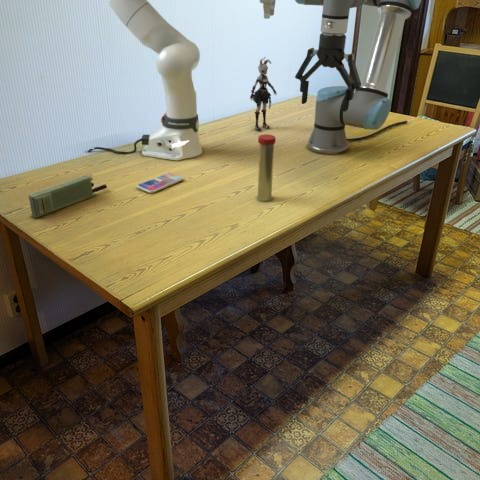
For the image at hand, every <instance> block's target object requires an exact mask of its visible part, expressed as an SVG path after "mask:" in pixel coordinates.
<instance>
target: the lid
mask: <svg viewBox="0 0 480 480" xmlns="http://www.w3.org/2000/svg"><path fill="white" fill-rule="evenodd" d="M257 139H258V140H257V142H258V144H259V145H260V144H262V145H272V144H274V145H275V144H276V136H275V135H274V134H267V133H266V134H260V135H259V136H258V138H257Z"/></svg>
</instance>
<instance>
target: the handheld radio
mask: <svg viewBox="0 0 480 480" xmlns="http://www.w3.org/2000/svg"><path fill="white" fill-rule="evenodd" d="M92 176H93V174H91V173H88V174H85V175H83V176H79V177H76V178H74V179H71V180H68V181H65V182H62V183H59V184H57V185H54V186H50V187H47V188H44V189H42V190H39V191H37V192H33V193H30V194H28V200H29V206H30V210H31V216H32V217H34V218H35V219H36V218H39V217H42V216H45V215H47V214H50V213H53V212H56V211H58V210H60V209H63V208H66V207H68V206H72V205H73V204H76V203H80V202H82V201H84V200H87V199H90V198H93V196H95V195H96V194H95V193H97V192H100V191H102V190H106V189H107V188H108V186H107V184H102V185H99V186H96V187H94V186H95V183H94V182H92V181H93V180H94V178H93V177H92ZM93 187H94V188H93Z"/></svg>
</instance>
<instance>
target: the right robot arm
mask: <svg viewBox="0 0 480 480" xmlns="http://www.w3.org/2000/svg"><path fill="white" fill-rule="evenodd" d="M294 1H295V3H296V4H298V5H304V6H322V12H321V13H322V14H321V19H320V20H321V21H320V32H321V33H320V34H319V40H318V49H315V48H314V47H310V48H309V49H307V52H306V57H305V58H304V60H303V62H302V63H301V65H300V67H299V69H298V70H297V72H296V73H295V76H294V78H295V79H296V80H298V81H300V84H299V92H300V93H301V104H302V105H305V104H306V103H307V102H308V95H309V87H310V86H309V85H310V81H309V80H308V79H309V78H310V77H311V76H312V75H313V74H314V73H315V72H316V71H317V70H318V69H319V68H320V67H321V66H322V67H323V68H330V69H334V68H335V69H336V71H337V72H338V73H339V75H340V76H341V79H342V80H343V81H344V83H345V85H333V86H326V87H322V88H320V89H318V91H317V93H316V98H315V99H316V100H315V110H314V123H313V124H314V125H313V128H312V131H311V133H310V136H309V139H308V141H307V148H308V150H310V151H312V152H314V153H318V154H322V155H340V154H343V153H346V152H347V151H348V145H349V144H348V142H355V141H360V140H364V139H369V138H371V137H374V136H376V135H378V134H380V133H382V132H383V131H385V130H387V129H390V128H392V127H395V126H399V125H404V124H407V123H408V121H407V120H404V121H399V122H395V123H392V124H389V125H387V126H385V127H383V125H384V124H385V122H386V121H387V120H388V117H389V115H390V111H391V106H392V102H391V99H390V98H388V97H389V92H388V91H387V89H386V88H387V84H388V81H389V77H390V74H391V71H392V67H393V63H394V60H395V57H396V53H397V49H398V47H399V42H400V38H401V36H402V35H401V34H402V32H403V28H404V24H405V20H407V19H408V18H410V17H411V15H412V13H413V10H418V9H419V8H420V6H421V3H422V0H294ZM363 5H365V6H370V7H376V8H377V12H378V13H379V19H378V22H377V27H376V30H375V34H374V37H373V41H372V44H371V48H370V52H369V55H368V59H367V63H366V67H365V70H364V73H363V77H362V81H361V78H360V75H359V72H358V69H357V66H356V62H355V61H356V60H355V58H356V56H355V53H353V52H352V53H345V48H346V41H347V36H346V34H347V33H348V25H349V17H350V10H351V9H353V8H358V7H361V6H363ZM315 56H316V57H317V58H318V60H317V61H316V62H315V63H314V64H313V65H312V67H311V68H310V69H309V70H308V71H306V70H307V68H308V66H309V65H310V63H311V61H312V60H313V58H314V57H315ZM344 59H345V61H346V62H347V65H348V69H349V72H350V74H349V72H348V70H347V69H346V67H345V64H344V62H343V60H344ZM305 72H306V73H305ZM346 126H348V127H354V128H358V129H363V130H369V131H370V130H371V131H375V132H373V133H371V134H368V135H364V136H359V137H354V138H347V134H346ZM381 127H382V128H381Z"/></svg>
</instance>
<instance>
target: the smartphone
mask: <svg viewBox="0 0 480 480" xmlns="http://www.w3.org/2000/svg"><path fill="white" fill-rule="evenodd" d="M182 181H184V177H183V176H180V175H179V174H174V173H172V172H166V173H163V174H161V175H159V176H156V177H154V178H151V179H149V180H146V181H143V182H141V183H138V184H137V185H136V188H137V189H139V190H141V191H143V192H145V193H148V194H154V193H156V192H158V191H160V190H161V191H162V190H164V189H166V188H168V187H170V186H172V185H175V184H177V183H180V182H182Z"/></svg>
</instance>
